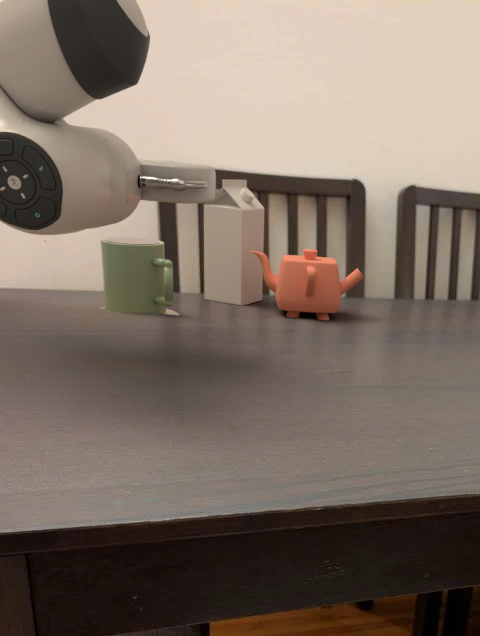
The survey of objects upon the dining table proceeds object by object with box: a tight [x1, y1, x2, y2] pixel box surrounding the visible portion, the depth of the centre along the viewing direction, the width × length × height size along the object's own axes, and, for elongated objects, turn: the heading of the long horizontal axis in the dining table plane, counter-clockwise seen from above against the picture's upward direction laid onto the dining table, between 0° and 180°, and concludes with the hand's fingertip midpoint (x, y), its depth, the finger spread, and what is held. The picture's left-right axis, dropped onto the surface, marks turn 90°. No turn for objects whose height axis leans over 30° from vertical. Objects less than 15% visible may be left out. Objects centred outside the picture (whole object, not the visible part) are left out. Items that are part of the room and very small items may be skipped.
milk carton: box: [203, 179, 265, 306], centre depth 119 cm, size 7×7×19 cm
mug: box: [100, 236, 180, 316], centre depth 102 cm, size 13×12×11 cm
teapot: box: [252, 248, 365, 321], centre depth 115 cm, size 14×12×10 cm
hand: (139, 175), depth 83 cm, fingers closed
